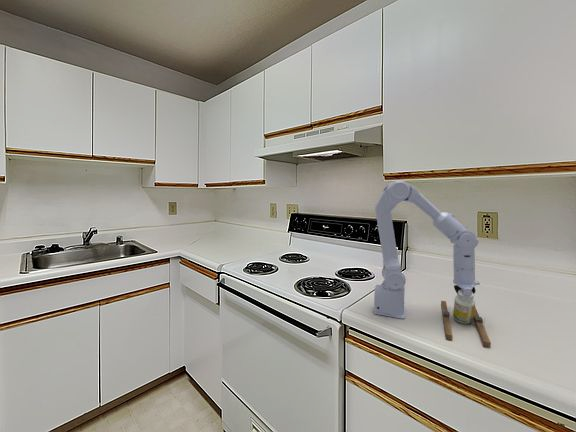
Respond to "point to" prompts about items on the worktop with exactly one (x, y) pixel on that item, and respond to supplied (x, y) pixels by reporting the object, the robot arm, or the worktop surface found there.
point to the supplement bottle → (464, 307)
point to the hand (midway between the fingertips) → (464, 309)
